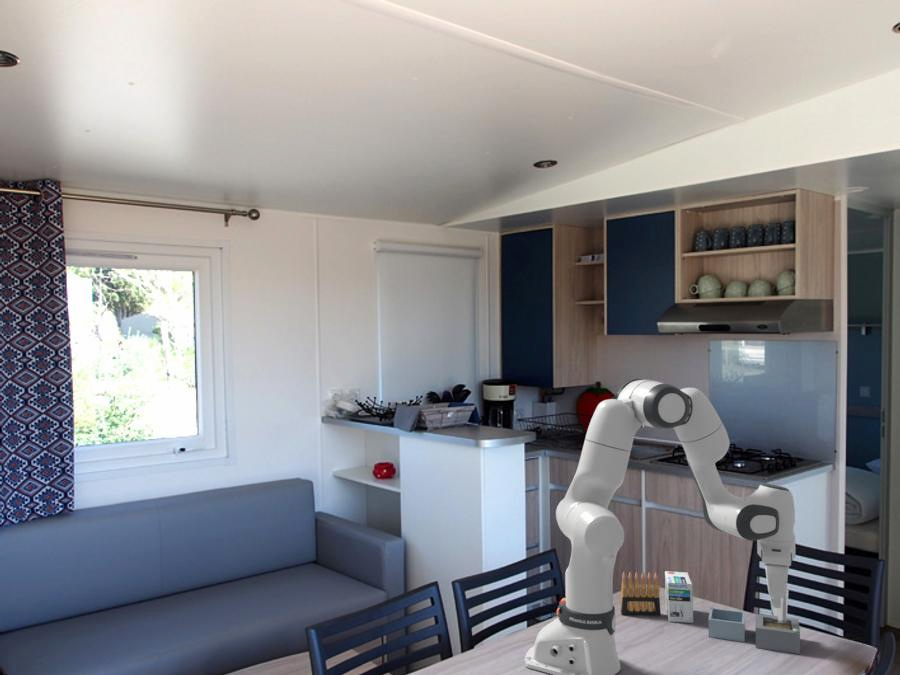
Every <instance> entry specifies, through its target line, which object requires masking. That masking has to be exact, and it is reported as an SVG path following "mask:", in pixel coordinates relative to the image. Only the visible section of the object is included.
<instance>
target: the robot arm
mask: <svg viewBox="0 0 900 675" xmlns="http://www.w3.org/2000/svg"><path fill="white" fill-rule="evenodd" d="M588 424H589V425H588V426H587V427H588V428H587V429H586V430H587V431H586V434H585V438H584V442H583V446H582V449H581V453H580V458H579V460H578V465H577V468H576V471H575V473H574V476H573V477H572V481H571V483H570V485H569V487H568V489H567V491H566V494H565V496H564V498H562V500H560V502H558V505H557V506H556V510H555V519H556V522H557V525H558V528H559V530H560V531H561V533H562V534H563V535H564V536H565V537H566V538H568V539H569V540H570V543H571V554H570V559H569V564H568V567H567V568H566V570H565V573H564V577H565V580H564V581H565V597H563V598H562V599H561V600H560V601H559V605H558V606H557V608H556V609H557V610H556V616H557V618H555V619H554V620H553V621H551V622H549V623H548V624H546V625H545V626H543V627H542V628H541V630H540V631H539V632H538V633H537V636H536V638H535V642H534V645H533V646H531V647H530V648H529V649H528V651H527V652H526V654H525V657H524V665H525V667H526V668H529V669H530V670H531V669H532V670H535V671H538V672H543V673H545V674H549V675H616V674H618V673H619V672H620V671H621V669H622V665H621V662H620V659H619V655H618V651H617V650H618V649H617V645H616V638H615V632H616V625H617V624H616V610H615V609H616V608H615V605H614V604H613V603H614V600H613V598H614V595H613V594H614V592H613V586H614V584H613V582H614V580H613V579H614V577H613V576H614V568H615V564H616V558H617V554H618V552H619V551H620V549H621V548H622V546H623V544H624V541H625V530H624V527H623V525H622V524H621V522H620V520H619V519H618V517H617V516H616V515H615V513H614V512H612V511H611V510H610V509H608V508H609V504H610V503H611V500H612V499H613V496H614V495H615V493H616V491H617V490H618V489H619V488H620V487H621V486H622V485H623V483H624V481H625V476H626V473H627V469H628V468H627V467H628V464H629V461H630V456H631V452H632V448H633V444H634V438H635V436H636V433H637V432H638V431H639V429H640V428H641V427H642V426H645V427H649V428H657V429H659V430H668V429H673V430H674V432H675V434H676V436H677V438H678V440H679V442H680V444H681V446H682V448H683V451H684V453H685V457H686V462H687V465H688V467H689V468H688V469H689V470H690V473H691V476H692V477H693V480H694V483H695V485H696V487H697V490H698V492H699V495H700V499H701V503H702V504H701V505H702V512H703V517H704V520H705V522H706V523H707V524H708V526H710V527H711V528H712V529H714V530H716V531H719V532H720V531H721V532H723V533H727V534H729V535H732V536H734V537H736V538H740V539H742V540H746V541H751V542H755V541H756V542H757V543H756V546H757V547H756V548H757V555H758V556H759V557H760V558H761V563H762V564H764V568H765V576H766V585H767V586H766V587H767V591H768V596H769V597H770V596H773V607H774V608H781V598H784V597H785V595H786V588H788V575H789V568H790V567H791V566H792V562H793V560H794V559H796V535H795V532H794V527H795V523H796V511H795V510H796V509H795V500H794V496H793V493H792V491H791V490H790V489H789V488H787V487H784V486H782V485H781V486H780V485H777V484H776V485H775V484H772V483H762V484H760V485H759V486H758V488H757V489H756V490H754V492H753V493H751V494H750V495H748V496H746V497H740V496H737V495H734V494H732V493H731V492H730V491H728V490H727V489H726V487H725V486H724V483H723V481H722V479H721V476H720V473H719V472H718V469H717V466H716V463H717V462H718V461H720V460H722V459H723V458H724V457H725V455H726V454H727V452H728V451H729V449H730V444H731V443H730V439H729V438H730V437H729V435H728V431H727V429H726V427H725V425H724V424H723V422H722V420H721V418H720V416H719V414H718V412H717V411H716V409H715V407H714V406H713V405H712V403H711V401H710V400H709V399H708V397H707V396H706V395H705V394H704V392H703V391H701V390H700V389H699V388H696V387H684V388H681V389H680V388H679V387H676V386H675V385H673V384H670V383H664V382H660V381H658V380H656V379H655V380H653V379H641V378H636V379H630V380H628V381H627V382H624V384H623V385H622V386H620V388H619V389H618V390H617V392H616V393H615V395H614V396H613V397H612V398H610V399H609V398H608V399H604V400H602V401H600V402H598V404H597V406H596V408H595V410H594V412H593V415H592V417H591V419H590V422H589V423H588Z"/></svg>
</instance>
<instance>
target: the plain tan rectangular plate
mask: <svg viewBox="0 0 900 675" xmlns="http://www.w3.org/2000/svg"><path fill="white" fill-rule="evenodd" d="M764 626H765V627H773V628H780V629H788V630H790V625H783V624H775V623H768V622H764Z"/></svg>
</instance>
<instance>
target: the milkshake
mask: <svg viewBox="0 0 900 675" xmlns="http://www.w3.org/2000/svg"><path fill="white" fill-rule="evenodd" d="M765 582H767V579H766V580H765ZM769 599H770V609H771V616H772V621H774V622H776V623H781V624H783V623H786V622H787V618H788V605H789V604H788V603H789V588H788V587H787V588H786V595H785V597H784V598H781V608H774V607H773V596H770V595H769Z"/></svg>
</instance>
